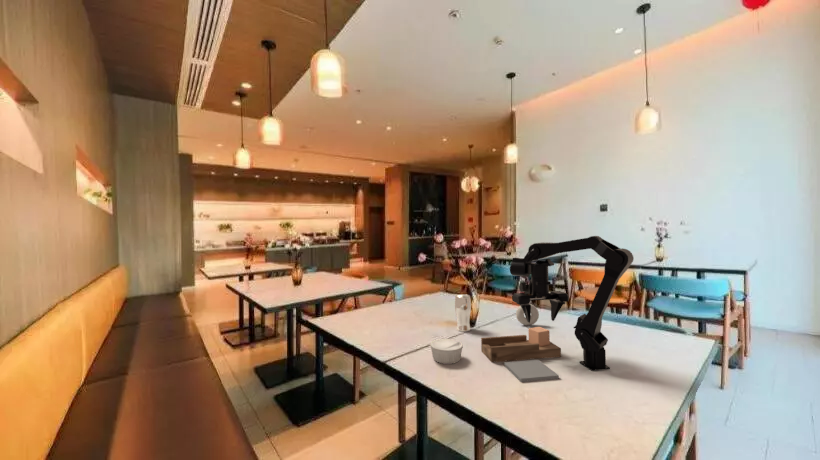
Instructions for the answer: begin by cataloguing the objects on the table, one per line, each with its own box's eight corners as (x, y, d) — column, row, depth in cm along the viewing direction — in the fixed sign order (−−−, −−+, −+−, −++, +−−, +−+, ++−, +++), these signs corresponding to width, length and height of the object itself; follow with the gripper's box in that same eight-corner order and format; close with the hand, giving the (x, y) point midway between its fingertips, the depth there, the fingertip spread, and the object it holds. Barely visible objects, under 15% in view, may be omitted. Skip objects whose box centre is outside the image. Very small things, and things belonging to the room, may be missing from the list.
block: (549, 344, 121) (549, 330, 121) (538, 346, 119) (538, 332, 119) (539, 340, 125) (539, 326, 125) (528, 342, 124) (528, 328, 124)
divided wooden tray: (561, 356, 117) (560, 342, 117) (491, 362, 114) (491, 347, 114) (545, 346, 127) (545, 333, 127) (481, 351, 124) (481, 337, 124)
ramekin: (462, 366, 111) (461, 350, 111) (428, 364, 113) (428, 349, 113) (463, 353, 122) (463, 339, 122) (432, 352, 124) (432, 337, 124)
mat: (558, 378, 101) (558, 375, 101) (520, 382, 99) (520, 378, 99) (538, 362, 113) (538, 359, 113) (503, 365, 111) (503, 362, 111)
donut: (537, 324, 155) (537, 302, 155) (540, 326, 151) (539, 304, 151) (515, 324, 156) (515, 302, 156) (517, 326, 152) (516, 304, 152)
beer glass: (452, 328, 151) (451, 295, 151) (465, 326, 154) (464, 293, 154) (461, 333, 145) (460, 298, 145) (474, 330, 148) (473, 296, 148)
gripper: (551, 273, 130) (552, 314, 130) (505, 275, 128) (506, 317, 128) (569, 277, 119) (570, 322, 119) (519, 280, 117) (520, 325, 117)
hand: (540, 321), depth 121 cm, fingers open, 9 cm apart
